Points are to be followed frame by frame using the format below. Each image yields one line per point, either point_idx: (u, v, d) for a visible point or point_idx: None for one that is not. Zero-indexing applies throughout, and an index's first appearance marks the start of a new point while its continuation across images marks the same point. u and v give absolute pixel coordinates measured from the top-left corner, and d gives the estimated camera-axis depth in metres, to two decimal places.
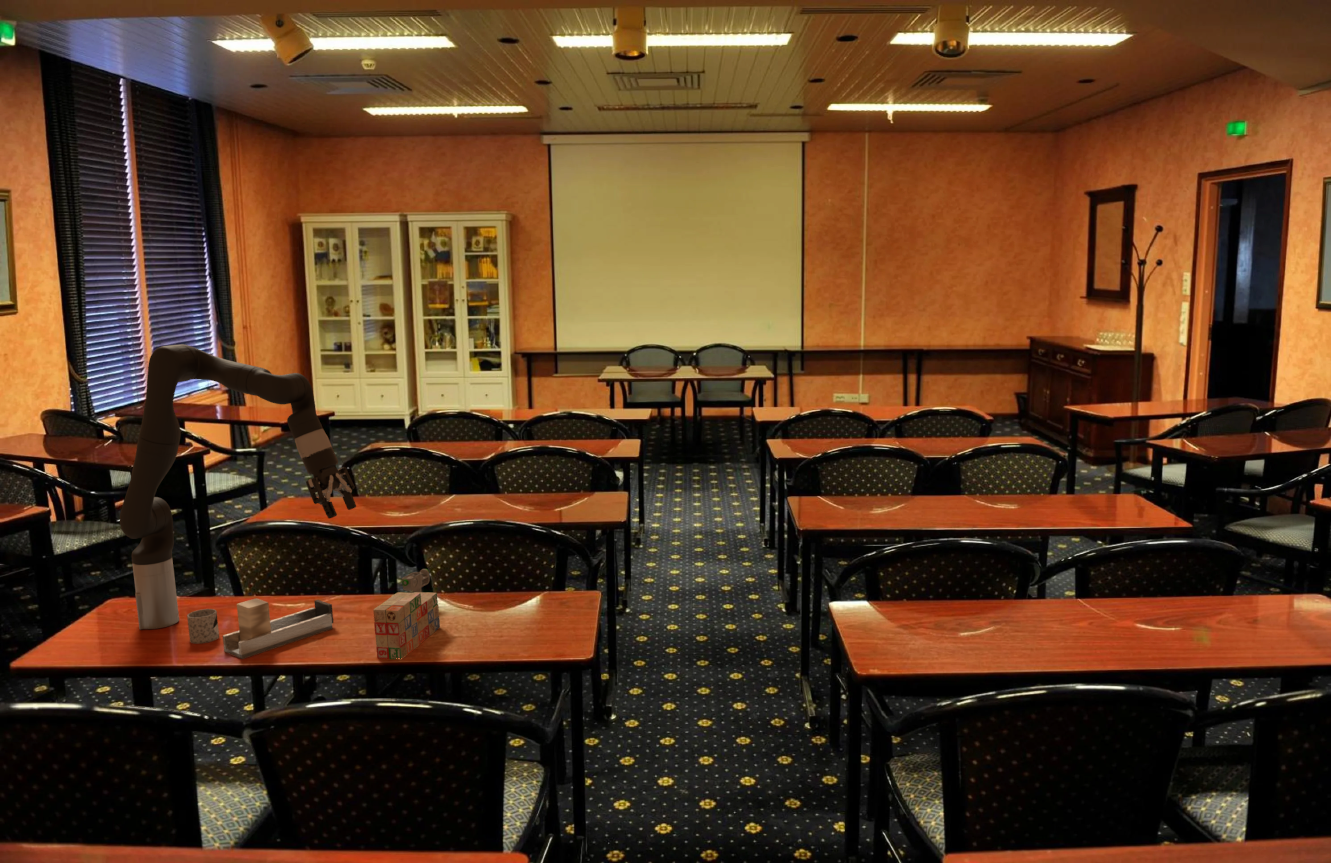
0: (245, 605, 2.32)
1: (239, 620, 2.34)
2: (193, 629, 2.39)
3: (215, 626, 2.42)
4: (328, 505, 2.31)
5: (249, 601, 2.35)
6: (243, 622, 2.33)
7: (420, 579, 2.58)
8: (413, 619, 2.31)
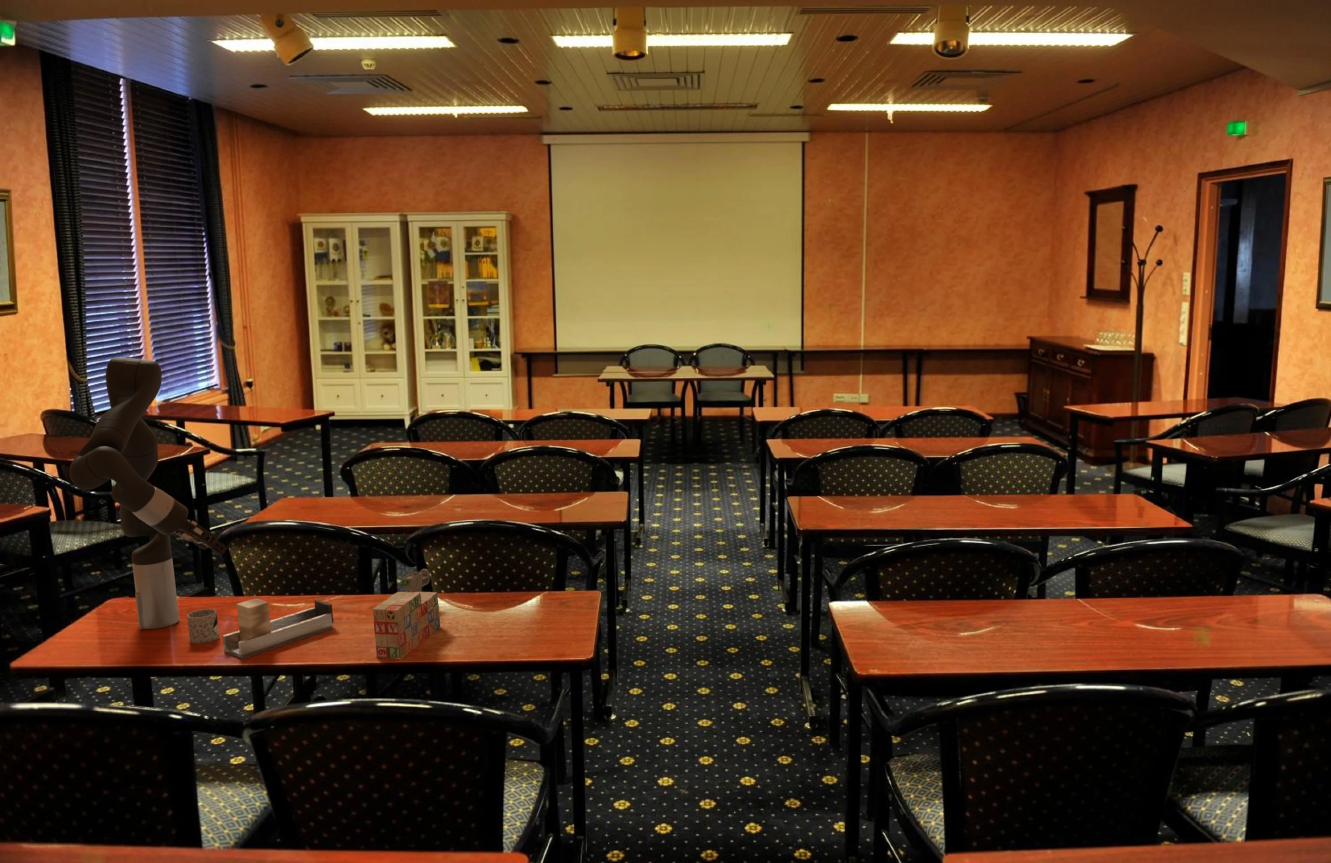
0: (245, 605, 2.32)
1: (239, 620, 2.34)
2: (193, 629, 2.39)
3: (215, 626, 2.42)
4: (194, 541, 2.27)
5: (249, 601, 2.35)
6: (243, 622, 2.33)
7: (420, 579, 2.58)
8: (413, 619, 2.32)
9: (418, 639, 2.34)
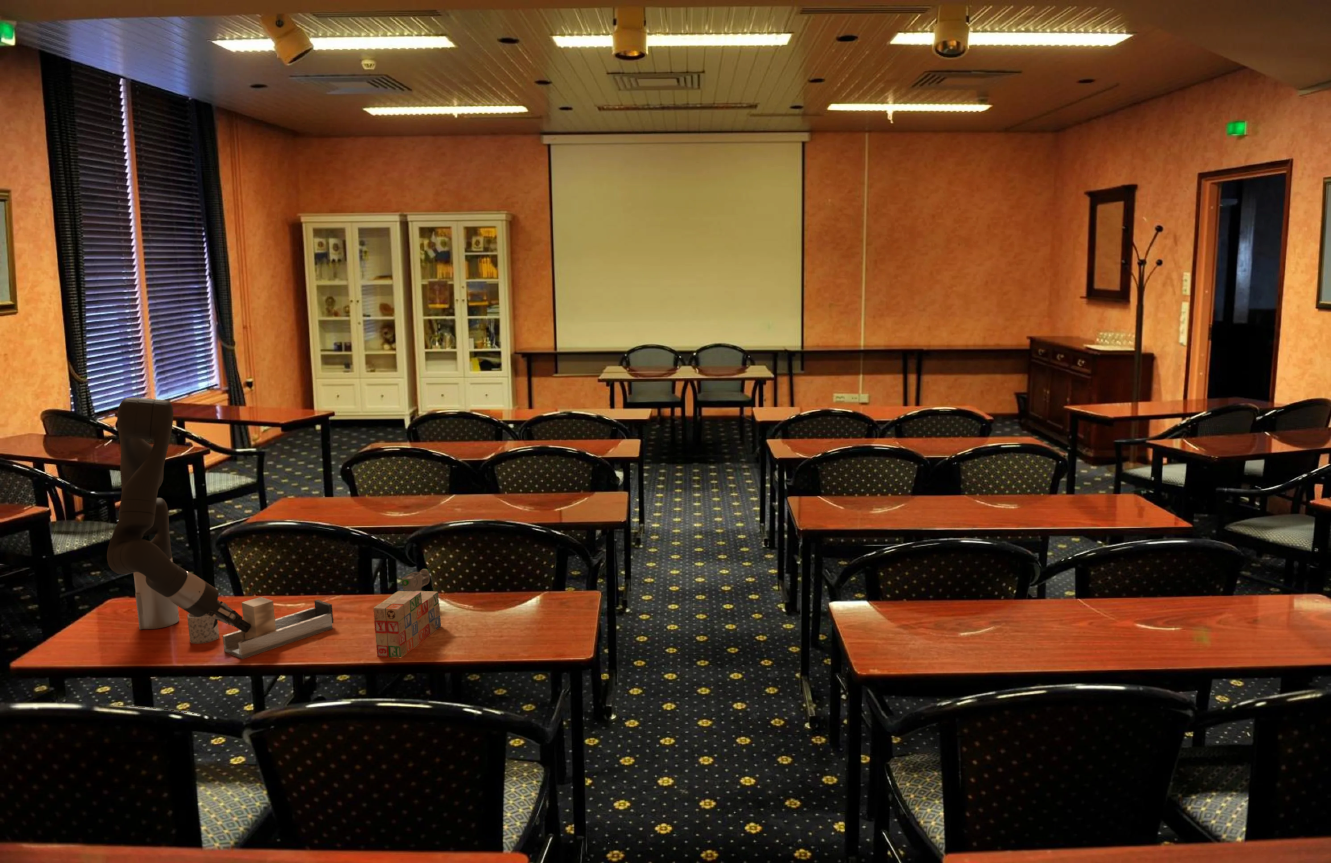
0: (250, 604, 2.33)
1: (244, 618, 2.35)
2: (193, 629, 2.39)
3: (215, 626, 2.42)
4: None
5: (254, 600, 2.36)
6: (248, 621, 2.34)
7: (420, 579, 2.58)
8: (413, 618, 2.32)
9: (418, 638, 2.35)
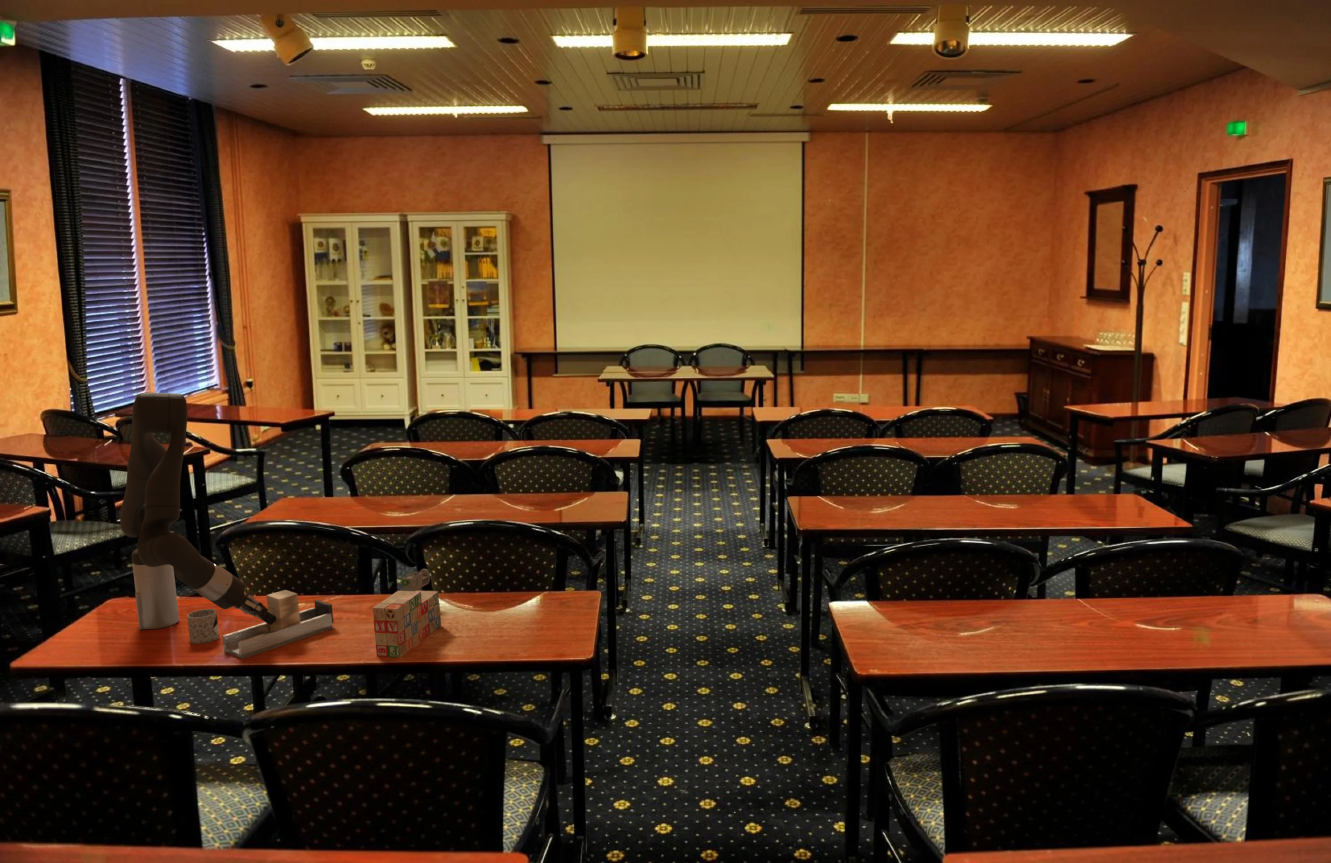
0: (275, 596, 2.38)
1: (269, 611, 2.40)
2: (193, 629, 2.39)
3: (215, 626, 2.42)
4: None
5: (278, 592, 2.41)
6: (272, 613, 2.39)
7: (420, 579, 2.58)
8: (413, 618, 2.32)
9: (418, 638, 2.35)
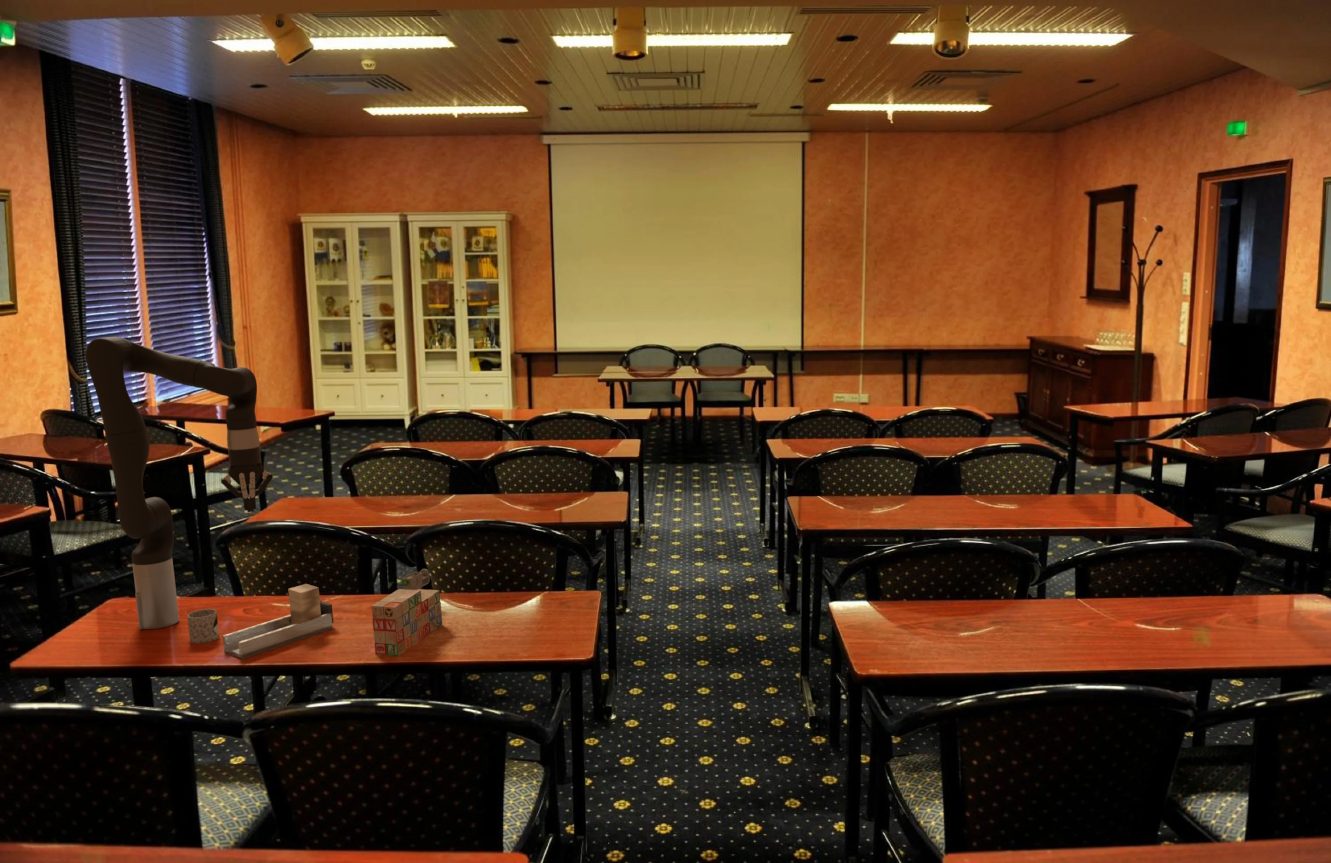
0: (297, 590, 2.43)
1: (290, 604, 2.44)
2: (193, 629, 2.39)
3: (215, 626, 2.42)
4: (244, 501, 2.50)
5: (300, 586, 2.46)
6: (294, 607, 2.43)
7: (420, 579, 2.58)
8: (412, 616, 2.33)
9: (418, 636, 2.36)
